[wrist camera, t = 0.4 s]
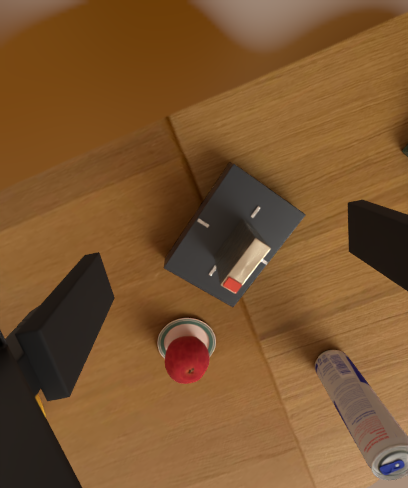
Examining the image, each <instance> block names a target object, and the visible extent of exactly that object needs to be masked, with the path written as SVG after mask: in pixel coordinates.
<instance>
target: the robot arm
mask: <svg viewBox="0 0 408 488" xmlns="http://www.w3.org/2000/svg"><path fill="white" fill-rule="evenodd" d="M348 233H349V252H350V253H352V254H353V255H355V256H356V257H358V258H359V259H361V260H362V261H364V262H365V263H367V264H368V265H370V266H371V267H373V268H374V269H376V270H377V271H379V272H380V273H382V274H383V275H385V276H386V277H387V278H389V279H390V280H392V281H393V282H395V283H396V284H398V285H399V286H401V287H402V288H404V289H405V290H407V291H408V215H407V214H404V213H401V212H398V211H395V210H392V209H389V208H386V207H383V206H380V205H377V204H374V203H371V202H368V201H365V200H359V201H354V202H349V203H348ZM113 300H114V295H113V292H112V289H111V286H110V283H109V280H108V277H107V274H106V271H105V268H104V265H103V262H102V259H101V256H100V253H99V252H98V253H93V254H88V255H84V257H83V258H82V259H81V260H80V261H79V262H78V263H77V265H76V266H75V267H74V268H73V269H72V270H71V271H70V272H69V274H68V275H67V276H66V277H65V278H64V279H63V280H62V281H61V283H60V284H59V285H58V286H57V287H56V288H55V289H54V290H53V292H52V293H51V294H50V295H49V296H48V297H47V298H46V299H45V301H44V302H43V303H42V304H41V305H40V306H38V307H37V308H35V309H34V310H32V311H31V312H30V313H29V314H28V315H27V316H26V317H25V318H24V319H23V320H22V322H20V323H19V325H18V326H17V328H15V329H14V330H13V331H12V332H11V333H10V334H9V336H8V337H7V338H6V339H5V338H4V336H3V335H2V333H1V331H0V488H82V486H81V485H80V483H79V481H78V479H77V477H76V475H75V473H74V471H73V469H72V467H71V465H70V463H69V461H68V460H67V458H66V456H65V454H64V452H63V450H62V448H61V446H60V444H59V442H58V440H57V438H56V437H55V435H54V433H53V431H52V429H51V427H50V425H49V423H48V421H47V419H46V417H45V415H44V413H43V412H42V410H41V408H40V406H39V404H38V402H37V400H36V398H35V397H36V395H37V394H38V392H39V390H40V388H41V389H42V391H43V393H44V395H45V397H46V399H47V401H51V400H57V399H62V398H67V397H70V395H71V393H72V391H73V388H74V386H75V384H76V382H77V380H78V377H79V375H80V373H81V371H82V369H83V366H84V364H85V362H86V360H87V358H88V355H89V353H90V351H91V349H92V347H93V344H94V342H95V340H96V338H97V335H98V333H99V331H100V329H101V327H102V324H103V322H104V320H105V318H106V316H107V313H108V311H109V309H110V307H111V305H112V302H113Z"/></svg>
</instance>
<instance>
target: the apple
mask: <svg viewBox="0 0 408 488" xmlns="http://www.w3.org/2000/svg"><path fill="white" fill-rule="evenodd" d="M215 345H216V339H215V335H214V333H213V331H212V329H211V328H210V327H209V326H208V325H207V324H206V323H204V322H202V321H200V320H197V319H193V318H181V319H177V320H174V321H172V322H170V323H169V324H167V325H166V326H165V327H164V328H163V329H162V331H161V332H160V334H159V337H158V349H159V352H160V353H161V355H162V356H163V358H164V359H165V368H166V370H167V373H168V374H169V376H170V377H171V378H172V379H173V380H175V381H176V382H178V383H184V384H187V383H193V382H196V381H198V380H199V379H200V378H202V376H203V375H204V373H205V371H206V370H207V368H208V365H209V357H210V356H211V355H212V353H213V351H214V349H215Z"/></svg>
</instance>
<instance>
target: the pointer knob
mask: <svg viewBox="0 0 408 488" xmlns="http://www.w3.org/2000/svg"><path fill="white" fill-rule="evenodd" d="M270 249H271V248H270V246H269V245H268V244H267V242H266V241H265V240H264V239H263V237H262V236H261V235H260V234H259V232H258V231H257V230H256V228H255V227H254V226H252V225H251V224H249V223H248V222H246V221H245V220H243V219H241V220H240V221H239V223H238V224H237V225H236V227H235V228H234V230H233V231H232V232H231V234H230V235H229V237H228V238H227V239H226V241H225V242H224V244H223V245H222V246H221V248H220V249H219V250H218V252H217V253H216V255H215V256H214V260H215V264H216V269H217V273H218V277H219V281H220V285H221V286H222V287H224V288H226V289H228V290H229V291H231V292H233V293H234V294H236V293H237V292H238V290H239V289H240V288H241V287H242V285H243V284H244V283H245V281H246V280H247V279H248V277H249V276H250V275H251V274H252V272H253V271H254V270H255V268H256V267H257V266H258V265H259V263H260V262H261V261H262V259H263V258H264V257H265V256H266V254H267V253H268V252H269V250H270Z"/></svg>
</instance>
